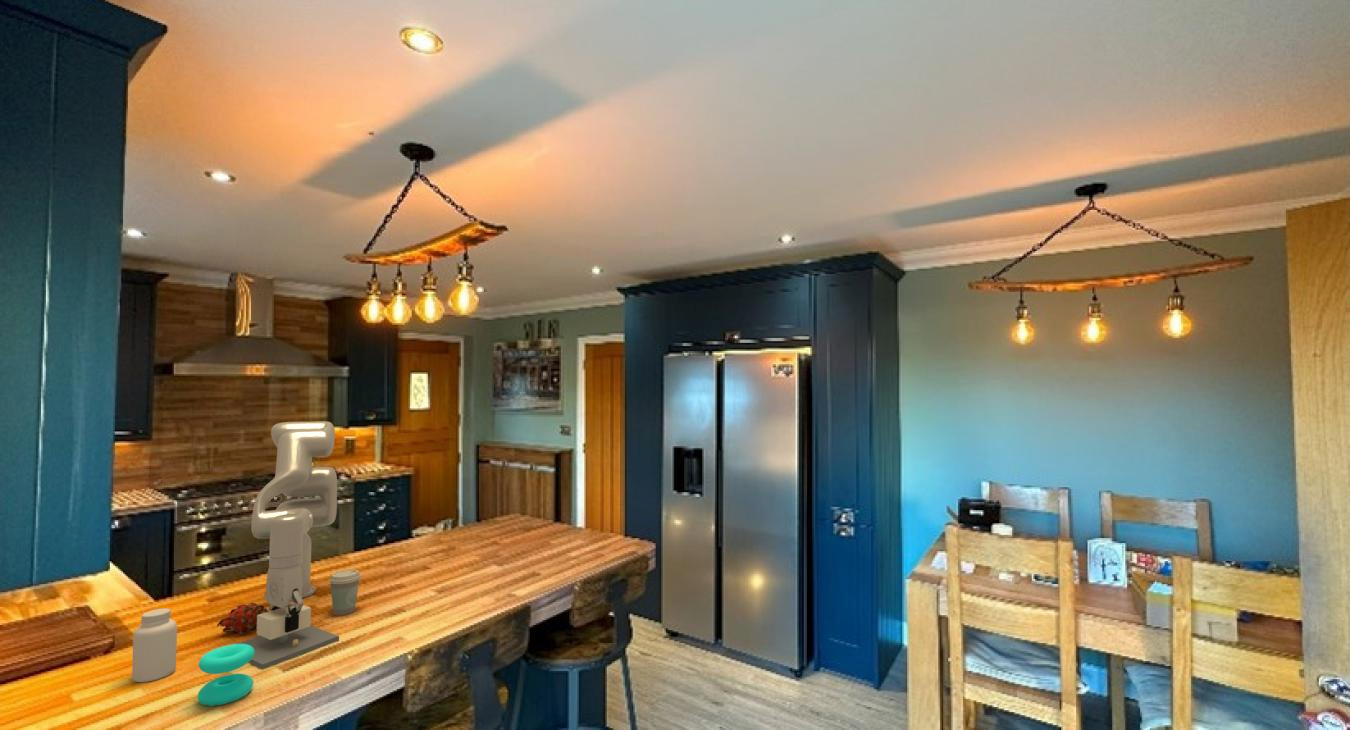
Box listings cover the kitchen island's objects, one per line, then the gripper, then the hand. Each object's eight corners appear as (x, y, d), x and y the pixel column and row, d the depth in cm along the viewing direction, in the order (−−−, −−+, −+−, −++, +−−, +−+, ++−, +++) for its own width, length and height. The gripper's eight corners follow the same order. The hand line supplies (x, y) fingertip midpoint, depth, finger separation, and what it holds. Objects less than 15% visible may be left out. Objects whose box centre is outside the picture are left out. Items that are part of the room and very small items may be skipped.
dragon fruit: (272, 633, 167) (220, 649, 161) (271, 608, 173) (221, 623, 167) (268, 616, 163) (214, 631, 157) (267, 591, 169) (215, 605, 162)
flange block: (270, 639, 150) (271, 620, 150) (256, 634, 154) (257, 615, 154) (310, 626, 159) (311, 607, 159) (296, 621, 162) (297, 603, 162)
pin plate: (225, 651, 152) (225, 624, 153) (300, 626, 169) (301, 601, 169) (262, 669, 143) (263, 640, 143) (339, 640, 160) (339, 614, 160)
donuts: (259, 638, 138) (247, 656, 128) (258, 681, 137) (246, 702, 128) (207, 646, 134) (191, 665, 125) (206, 690, 133) (190, 712, 124)
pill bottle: (149, 667, 144) (152, 606, 144) (184, 666, 144) (186, 605, 145) (122, 684, 136) (124, 619, 136) (158, 682, 136) (161, 618, 137)
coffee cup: (345, 618, 174) (346, 578, 175) (321, 616, 176) (322, 576, 177) (366, 608, 183) (367, 569, 183) (342, 605, 185) (343, 567, 185)
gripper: (254, 559, 158) (251, 626, 157) (288, 569, 149) (286, 639, 149) (283, 553, 164) (281, 616, 164) (318, 562, 156) (316, 629, 155)
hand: (283, 627), depth 156 cm, fingers closed on flange block, 7 cm apart
